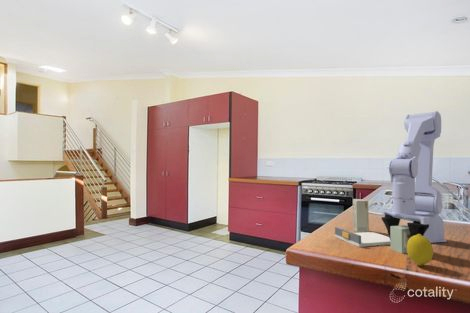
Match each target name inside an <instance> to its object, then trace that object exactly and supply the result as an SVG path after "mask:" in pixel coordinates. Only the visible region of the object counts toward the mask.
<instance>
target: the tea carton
mask: <svg viewBox="0 0 470 313" xmlns="http://www.w3.org/2000/svg"><path fill="white" fill-rule="evenodd" d="M410 238H411V235H410V230H409V227H408V225H406V224H405V225H399V226H390V250H391V249H392V250H391V251H394V250H395V251H394V252H396V251H397V253H399V252H400V254H408V253H407V243H408V240H409V239H410Z"/></svg>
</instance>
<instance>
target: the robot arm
mask: <svg viewBox="0 0 470 313" xmlns="http://www.w3.org/2000/svg"><path fill="white" fill-rule="evenodd" d="M403 121H404V122H403V125H404V126H403V127H404V129H405V131H406V132H407V133H406V138H405V141H402V142H401V143H400V146H399V148H398V151H397V154H396V156H395V158H394V159H392V160H390V162H389V167H388V172H389V175H390V183H391V184H392V209H388V208H384V209H383V208H381V210H382V212H381V215H382V217H381V221H382V222H383V224H384V226H385V228H386V230H387V234H388V237H389V238H390V226H400V222H401V220H404V221H409V222H407V223H406V224H407V226H408V227H409V230H410V235H411V237H412V236H414V235H417V234H421V235H422V236H424V237H426V238H427V239H428V240H429V241H430V242H431V244H435V243H447V242H448V241H447V240H446V239H445V223H444V220H443V218H442V217H441V215H440V214H441V213H442V211H443V200H442V193H441V192H440V191H439V190H438V189H437V188H435V187H434V186H433V168H434V167H433V165H434V145H435V141H436V139H438V138H440V137H441V134H442V116H441V113H440V112H438V110H436V111H432V112H423V113H416V114H415V113H414V114H407V115H406V116H404V120H403Z"/></svg>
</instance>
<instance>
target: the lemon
mask: <svg viewBox="0 0 470 313" xmlns="http://www.w3.org/2000/svg"><path fill="white" fill-rule="evenodd" d="M432 244H433V243H431V242H430V241H429V240H428V239H427V238H426V237H424V236H422V235H421V234H417V235H414V236H412V237H411V238H410V239H409V240H408V243H407V253H406V254H407V256H408V257H409V259H410V260H412V261H413V262H414V263H415V264H416V265H418V267H419V266H420V267H422V266H423V265H425V264H428V263H430V262H431V261H432V259H433V257H434V247H433V245H432Z"/></svg>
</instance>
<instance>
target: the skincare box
mask: <svg viewBox="0 0 470 313" xmlns="http://www.w3.org/2000/svg"><path fill="white" fill-rule="evenodd" d="M352 216H353V217H352V221H353V222H352V227H353V231H355V233H362V232H370V231H369V230H370V228H369V227H370V226H369V222H370V221H369V201H368V200H366V199H362V198H361V199H359V198H353V199H352Z"/></svg>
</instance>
